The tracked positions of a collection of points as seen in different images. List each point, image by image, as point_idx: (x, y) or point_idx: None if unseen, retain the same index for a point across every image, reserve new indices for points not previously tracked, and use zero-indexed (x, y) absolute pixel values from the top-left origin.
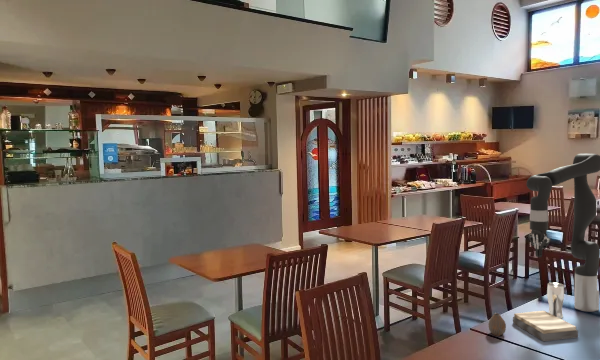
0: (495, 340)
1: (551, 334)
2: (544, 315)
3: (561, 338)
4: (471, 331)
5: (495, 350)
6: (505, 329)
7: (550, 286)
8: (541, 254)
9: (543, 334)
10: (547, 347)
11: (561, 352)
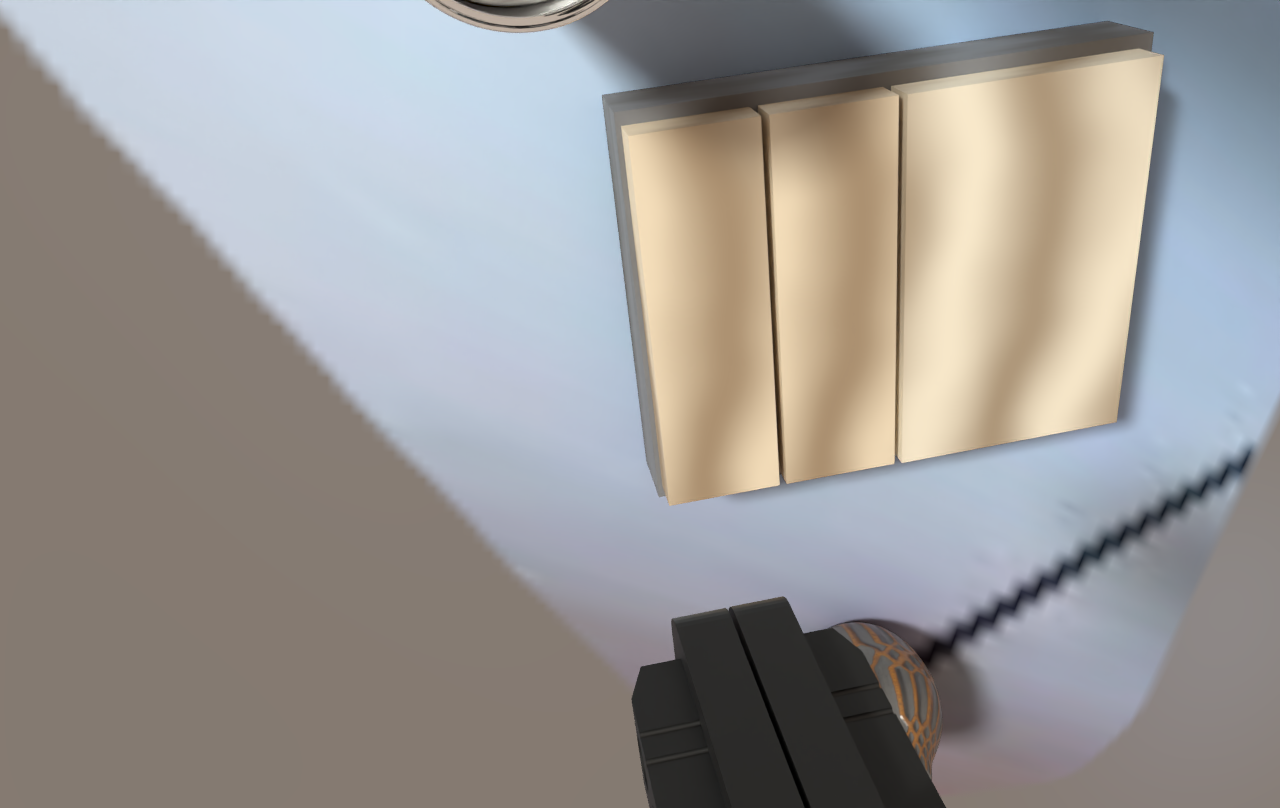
0: (942, 695)
1: None
2: (785, 220)
3: None
4: None
5: (1076, 735)
6: (907, 645)
7: (561, 21)
8: (866, 692)
9: None
10: (1166, 405)
11: (1271, 348)
